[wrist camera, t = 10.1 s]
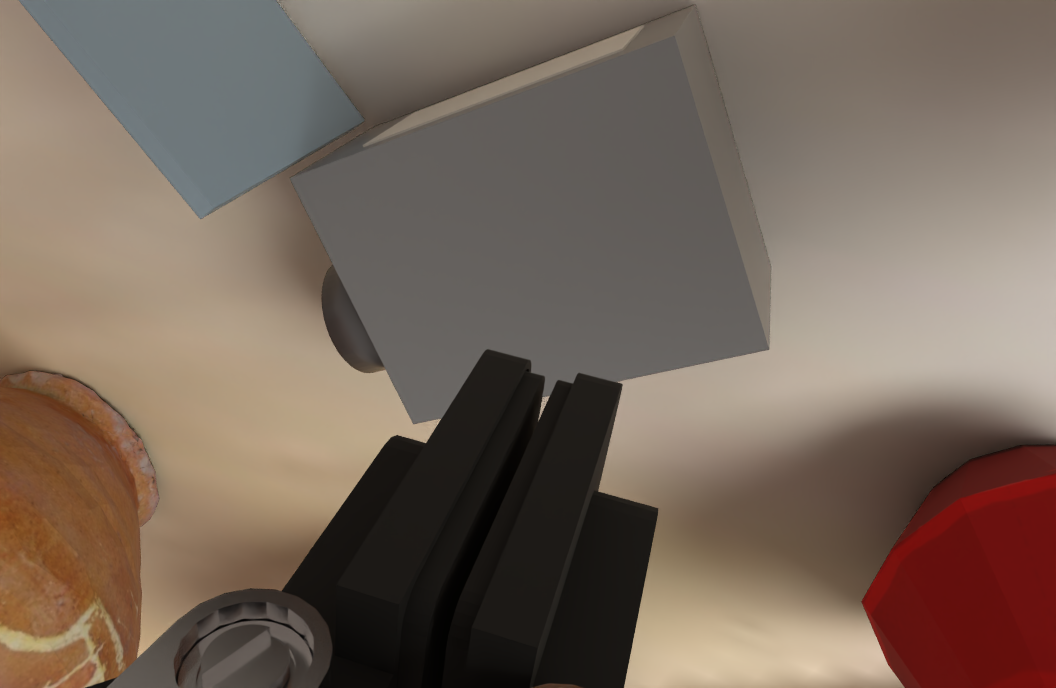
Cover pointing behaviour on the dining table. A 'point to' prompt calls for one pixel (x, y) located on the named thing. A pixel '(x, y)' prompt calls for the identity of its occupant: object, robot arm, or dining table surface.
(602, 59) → the box
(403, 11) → the dining table surface
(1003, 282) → the dining table surface
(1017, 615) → the bottle
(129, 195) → the dining table surface
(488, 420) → the robot arm
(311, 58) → the side door
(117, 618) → the jug
